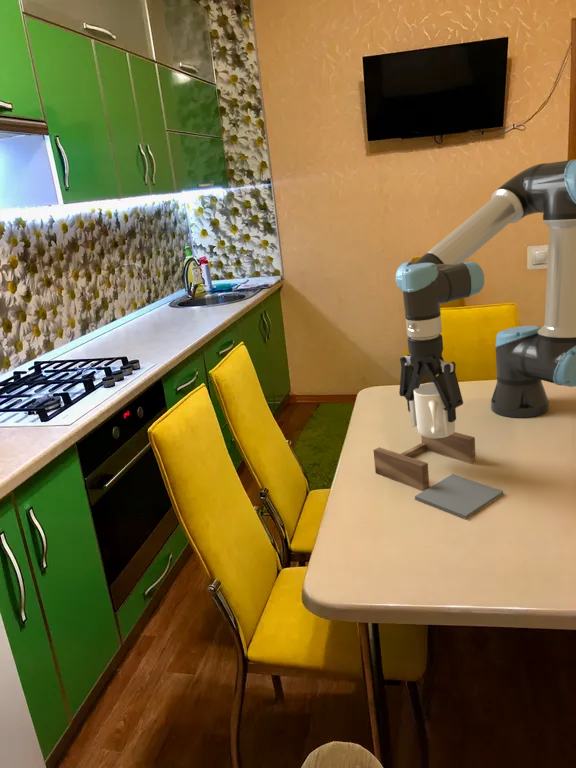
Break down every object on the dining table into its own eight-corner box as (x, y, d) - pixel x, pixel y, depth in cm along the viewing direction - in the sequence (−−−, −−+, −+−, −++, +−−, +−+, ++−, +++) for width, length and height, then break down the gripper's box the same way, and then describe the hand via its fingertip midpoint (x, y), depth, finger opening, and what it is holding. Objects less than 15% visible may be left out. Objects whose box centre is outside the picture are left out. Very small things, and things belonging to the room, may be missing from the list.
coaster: (452, 477, 140) (452, 474, 140) (503, 494, 130) (503, 490, 130) (415, 499, 133) (414, 496, 132) (465, 519, 123) (465, 515, 122)
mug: (416, 446, 137) (411, 402, 134) (418, 425, 148) (414, 383, 145) (456, 445, 135) (452, 399, 132) (455, 423, 146) (452, 380, 143)
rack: (427, 446, 158) (425, 424, 156) (475, 460, 146) (474, 437, 145) (375, 473, 147) (373, 450, 145) (423, 491, 136) (421, 466, 134)
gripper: (376, 335, 141) (386, 425, 148) (454, 345, 125) (461, 446, 132) (398, 326, 146) (407, 414, 153) (476, 335, 129) (482, 434, 136)
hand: (432, 429), depth 142 cm, fingers closed on mug, 9 cm apart
